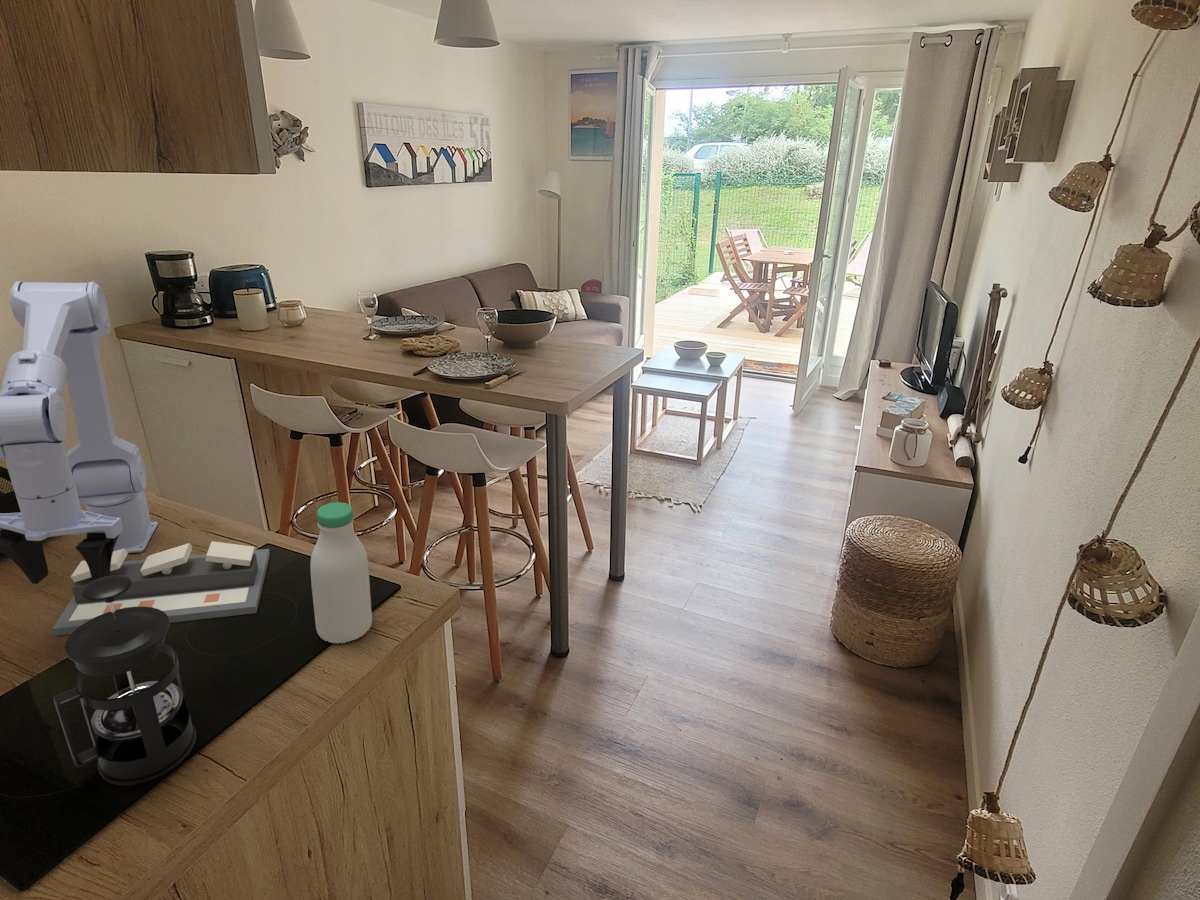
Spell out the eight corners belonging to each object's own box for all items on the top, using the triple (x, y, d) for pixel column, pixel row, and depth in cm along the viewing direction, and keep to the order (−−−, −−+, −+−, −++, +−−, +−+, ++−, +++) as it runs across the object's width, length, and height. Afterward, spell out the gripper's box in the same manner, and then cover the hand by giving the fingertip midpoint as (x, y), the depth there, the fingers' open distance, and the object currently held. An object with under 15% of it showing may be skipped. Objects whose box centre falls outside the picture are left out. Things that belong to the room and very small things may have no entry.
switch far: (209, 552, 103) (211, 541, 102) (252, 557, 105) (254, 546, 105) (204, 566, 100) (206, 555, 99) (248, 571, 102) (250, 560, 101)
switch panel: (95, 570, 105) (89, 548, 103) (269, 554, 112) (267, 534, 111) (54, 635, 91) (47, 612, 89) (256, 613, 99) (253, 590, 97)
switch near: (88, 571, 99) (80, 561, 98) (131, 558, 100) (124, 548, 99) (78, 587, 95) (70, 577, 94) (123, 573, 96) (115, 563, 95)
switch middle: (154, 566, 101) (147, 555, 100) (195, 553, 102) (189, 543, 101) (146, 581, 98) (140, 570, 97) (189, 567, 99) (183, 557, 98)
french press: (186, 703, 82) (151, 546, 73) (215, 748, 77) (182, 584, 67) (69, 757, 74) (14, 587, 65) (92, 812, 69) (36, 635, 59)
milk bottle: (374, 639, 96) (366, 519, 88) (316, 649, 93) (303, 526, 85) (370, 607, 102) (363, 493, 94) (316, 616, 99) (303, 498, 91)
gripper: (-46, 501, 77) (-12, 597, 82) (88, 506, 78) (112, 600, 84) (0, 474, 83) (28, 565, 89) (123, 479, 85) (143, 568, 90)
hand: (71, 580), depth 87 cm, fingers open, 7 cm apart
